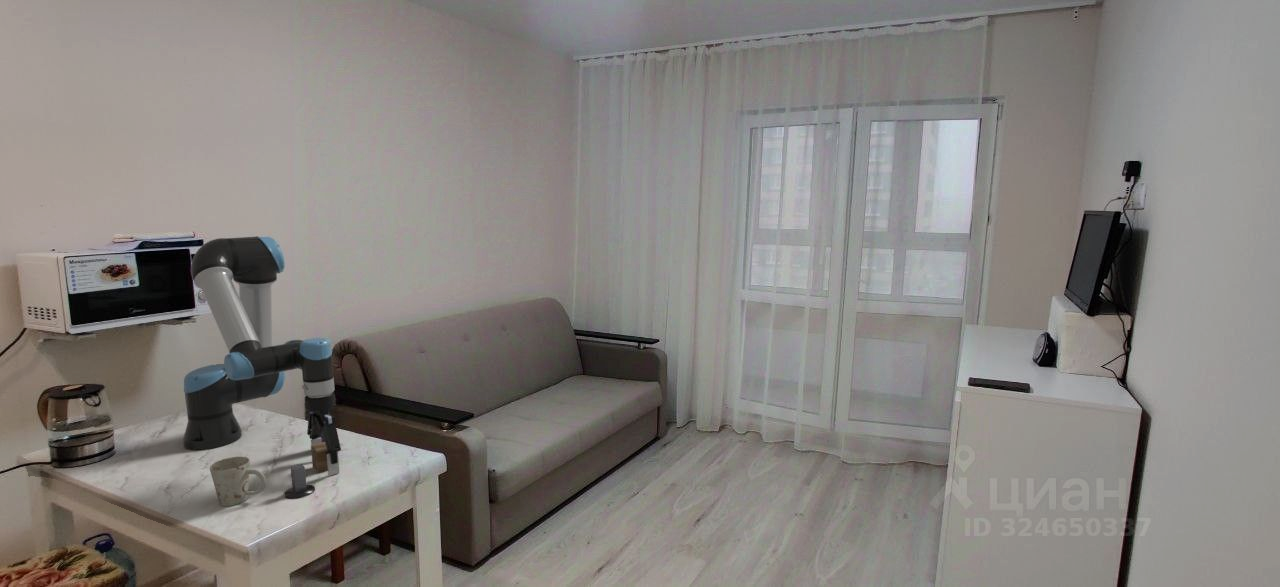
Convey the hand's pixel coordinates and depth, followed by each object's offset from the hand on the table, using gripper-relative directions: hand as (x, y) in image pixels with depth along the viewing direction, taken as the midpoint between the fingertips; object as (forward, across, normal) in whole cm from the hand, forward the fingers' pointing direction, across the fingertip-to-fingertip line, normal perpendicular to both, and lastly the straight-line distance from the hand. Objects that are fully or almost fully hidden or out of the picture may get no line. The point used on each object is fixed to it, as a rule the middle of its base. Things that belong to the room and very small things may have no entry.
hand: (325, 466), depth 175 cm
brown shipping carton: (0, 0, 0) cm, 0 cm away
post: (0, +11, -10) cm, 15 cm away
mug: (0, +5, -22) cm, 22 cm away
